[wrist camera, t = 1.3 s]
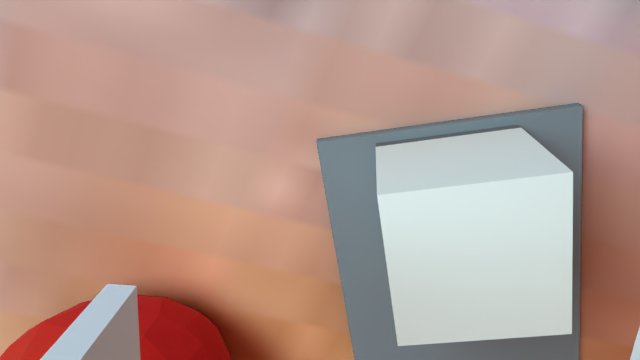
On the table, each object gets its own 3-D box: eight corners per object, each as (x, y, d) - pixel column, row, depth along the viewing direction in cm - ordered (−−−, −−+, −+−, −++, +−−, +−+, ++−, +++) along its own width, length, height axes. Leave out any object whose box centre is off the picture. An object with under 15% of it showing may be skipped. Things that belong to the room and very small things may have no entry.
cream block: (517, 124, 24) (573, 172, 17) (521, 250, 26) (571, 333, 20) (375, 143, 25) (376, 195, 18) (391, 262, 27) (397, 346, 21)
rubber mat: (577, 103, 24) (582, 105, 23) (573, 506, 33) (577, 515, 32) (317, 138, 26) (316, 142, 25) (382, 510, 35) (382, 518, 34)
